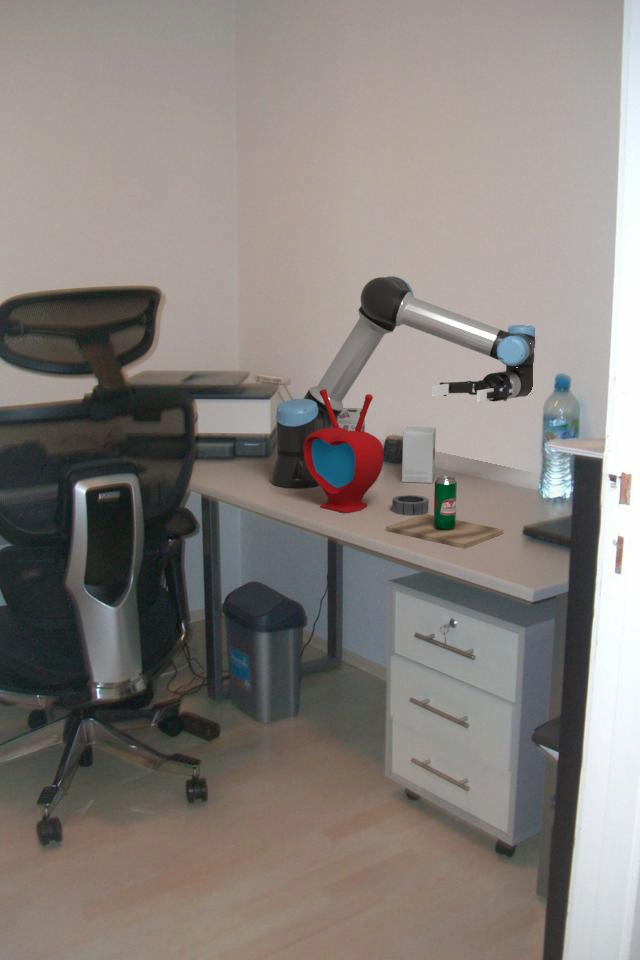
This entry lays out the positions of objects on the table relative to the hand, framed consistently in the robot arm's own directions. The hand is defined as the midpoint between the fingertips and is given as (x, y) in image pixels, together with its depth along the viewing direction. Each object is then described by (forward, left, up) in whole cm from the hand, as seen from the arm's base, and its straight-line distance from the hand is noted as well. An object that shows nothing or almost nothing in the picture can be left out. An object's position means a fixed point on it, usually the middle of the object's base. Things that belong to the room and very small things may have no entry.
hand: (454, 393), depth 238 cm
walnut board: (+12, -20, -30) cm, 38 cm away
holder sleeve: (-6, -9, -30) cm, 32 cm away
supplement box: (-26, +22, -30) cm, 45 cm away
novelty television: (-21, -17, -30) cm, 40 cm away
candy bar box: (-62, +32, -30) cm, 76 cm away
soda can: (+12, -20, -29) cm, 37 cm away
